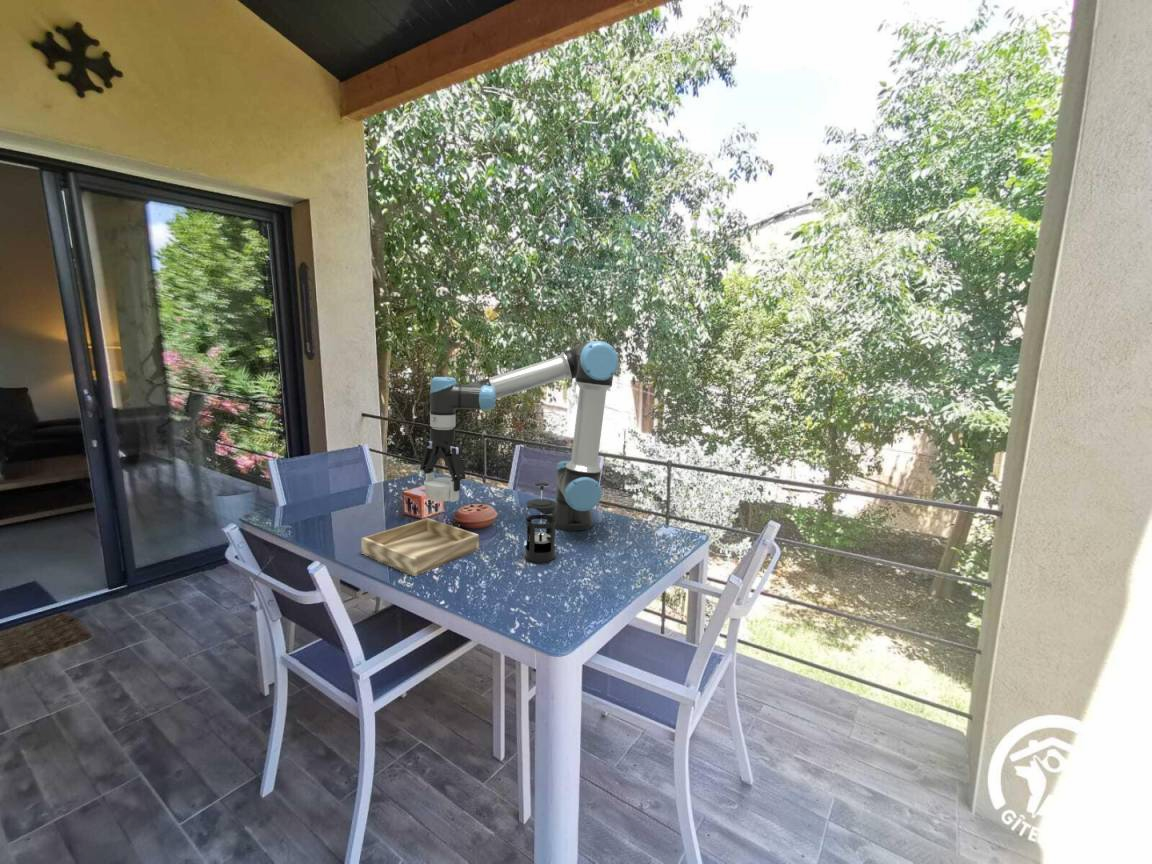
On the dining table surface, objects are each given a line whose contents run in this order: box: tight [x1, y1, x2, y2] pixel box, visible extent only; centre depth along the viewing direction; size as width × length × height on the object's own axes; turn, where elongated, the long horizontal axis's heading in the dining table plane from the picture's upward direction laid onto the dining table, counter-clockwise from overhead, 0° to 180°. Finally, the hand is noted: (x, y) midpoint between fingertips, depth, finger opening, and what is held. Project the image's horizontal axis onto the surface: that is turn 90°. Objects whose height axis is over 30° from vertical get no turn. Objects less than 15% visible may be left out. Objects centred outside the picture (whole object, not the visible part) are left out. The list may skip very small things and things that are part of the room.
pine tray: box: [360, 517, 480, 577], centre depth 153 cm, size 24×24×5 cm
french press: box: [523, 481, 557, 565], centre depth 151 cm, size 12×9×23 cm
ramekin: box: [423, 477, 461, 502], centre depth 159 cm, size 11×11×5 cm
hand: (441, 496), depth 159 cm, fingers closed on ramekin, 11 cm apart
